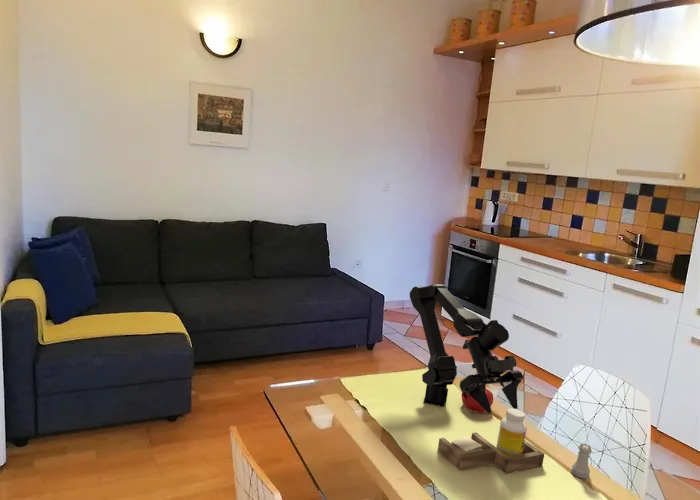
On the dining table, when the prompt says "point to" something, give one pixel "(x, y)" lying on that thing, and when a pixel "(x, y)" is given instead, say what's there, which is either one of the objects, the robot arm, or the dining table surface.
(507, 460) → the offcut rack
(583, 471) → the rook chess piece
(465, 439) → the offcut stack
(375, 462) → the dining table surface
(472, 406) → the pomegranate
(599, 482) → the dining table surface
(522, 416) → the supplement bottle
